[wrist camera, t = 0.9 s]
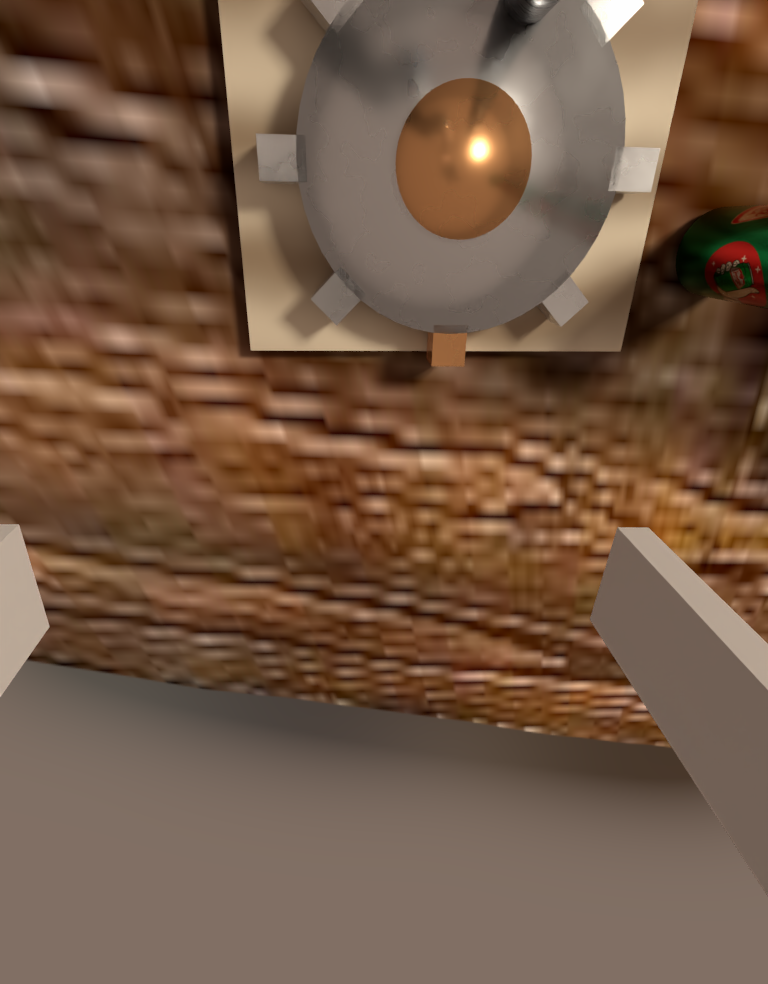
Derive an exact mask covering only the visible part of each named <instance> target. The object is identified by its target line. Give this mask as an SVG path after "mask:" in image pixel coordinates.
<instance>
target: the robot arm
mask: <svg viewBox="0 0 768 984" xmlns="http://www.w3.org/2000/svg"><path fill="white" fill-rule="evenodd" d="M590 621H591V622H592V624H593V625H594V627H595V628H596V630H597V631H598V633H599V635H600V636H601V638H602V639H603V641H604V642H605V644H606V645H607V647H608V649H609V650H610V652H611V653H612V655H613V656H614V658H615V659H616V661H617V663H618V664H619V666H620V667H621V669H622V670H623V672H624V673H625V675H626V677H627V678H628V680H629V681H630V683H631V684H632V686H633V688H634V689H635V691H636V692H637V694H638V695H639V697H640V698H641V700H642V702H643V703H644V705H645V706H646V708H647V709H648V711H649V712H650V714H651V716H652V717H653V719H654V720H655V722H656V723H657V725H658V726H659V728H660V730H661V731H662V733H663V734H664V736H665V737H666V739H667V740H668V742H669V744H670V745H671V747H672V748H673V750H674V751H675V753H676V754H677V756H678V758H679V759H680V761H681V762H682V764H683V765H684V767H685V768H686V770H687V772H688V773H689V775H690V776H691V778H692V779H693V781H694V782H695V784H696V786H697V787H698V789H699V790H700V792H701V793H702V795H703V796H704V798H705V800H706V801H707V802H708V804H709V806H710V807H711V809H712V810H713V812H714V814H715V815H716V817H717V818H718V820H719V821H720V823H721V824H722V826H723V828H724V829H725V830H726V832H727V834H728V835H729V837H730V838H731V840H732V842H733V843H734V845H735V846H736V848H737V849H738V851H739V853H740V854H741V856H742V857H743V859H744V860H745V862H746V863H747V865H748V867H749V868H750V870H751V871H752V873H753V874H754V876H755V877H756V879H757V881H758V882H759V884H760V885H761V887H762V888H763V890H764V891H765V893H766V895H767V896H768V644H767V643H766V642H765V641H764V640H763V639H762V638H761V637H760V636H759V635H758V634H757V633H756V632H755V631H754V630H753V629H752V628H751V627H750V626H749V625H748V624H747V623H746V622H745V621H744V620H743V619H742V618H741V617H740V616H739V615H738V614H736V613H735V612H734V611H733V610H732V609H731V608H730V607H729V606H728V605H727V604H726V603H725V602H724V601H723V600H722V599H721V598H720V597H719V596H718V595H717V594H716V593H715V592H714V591H713V590H712V589H711V588H710V587H709V586H708V585H707V584H706V583H705V582H704V581H703V580H702V579H701V578H700V577H699V576H698V575H696V574H695V573H694V572H693V571H692V570H691V569H690V568H689V567H688V566H687V565H686V564H685V563H684V562H683V561H682V560H681V559H680V558H679V557H678V556H677V555H676V554H675V553H674V552H673V551H672V550H671V549H670V548H669V547H668V546H667V545H666V544H665V543H664V542H663V541H662V540H661V539H660V538H659V537H657V536H656V535H655V534H654V533H653V532H652V531H651V530H650V529H649V528H617V531H616V534H615V538H614V541H613V544H612V548H611V551H610V554H609V558H608V561H607V564H606V568H605V571H604V574H603V578H602V581H601V584H600V588H599V591H598V594H597V598H596V601H595V604H594V608H593V611H592V614H591V618H590ZM48 628H49V623H48V620H47V617H46V613H45V610H44V607H43V603H42V600H41V597H40V593H39V590H38V587H37V583H36V580H35V577H34V573H33V570H32V567H31V563H30V560H29V557H28V553H27V550H26V547H25V543H24V540H23V537H22V533H21V530H20V526H19V524H0V697H1V695H2V694H3V692H4V691H5V690H6V688H7V687H8V685H9V684H10V683H11V681H12V680H13V678H14V677H15V675H16V674H17V673H18V671H19V670H20V668H21V667H22V665H23V664H24V663H25V661H26V660H27V658H28V657H29V655H30V654H31V653H32V651H33V650H34V648H35V647H36V645H37V644H38V643H39V641H40V640H41V638H42V637H43V635H44V634H45V633H46V631H47V630H48Z"/></svg>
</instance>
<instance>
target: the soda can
mask: <svg viewBox="0 0 768 984" xmlns="http://www.w3.org/2000/svg"><path fill="white" fill-rule="evenodd" d="M676 271H677V275H678V279H679V281H680V282H681V284H682V285H683V287H684V288H685V289H687V290H688V291H689V292H691V293H693V294H696V295H700V296H705V297H710V298H715V299H720V300H725V301H730V302H736V303H741V304H746V305H751V306H756V307H761V308H766V309H768V205H753V206H731V207H721V208H717V209H714V210H712V211H709V212H707V213H706V214H704V215H703V216H701V217H700V218H699V219H698V220H696V221H695V222H694V223H693V224H692V225H691V227H690V228H689V229H688V231H687V232H686V233H685V235H684V237H683V239H682V241H681V243H680V245H679V248H678V252H677V257H676Z"/></svg>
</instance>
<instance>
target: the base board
mask: <svg viewBox="0 0 768 984" xmlns="http://www.w3.org/2000/svg"><path fill="white" fill-rule="evenodd" d="M643 2H644V4H643V5H642V7H641V8H640V9H639V10H638V11H637V12H636V13H635V14H634V15H633V16H632V17H631V18H630V19H629V20H628V21H627V22H626V23H625V24H624V25H623V26H622V27H621V29H620V30H619V31H618V32H617V33H616V34H615V35H614V36H613V37H612V38H611V39H610V42H611V46H612V49H613V52H614V55H615V58H616V61H617V64H618V67H619V72H620V77H621V82H622V87H623V93H624V105H625V117H626V122H625V147H643V148H660V153H659V157H658V162H657V167H656V171H655V176H654V180H653V185H652V190H651V192H647V193H637V194H615V196H614V199H613V202H612V204H611V207H610V210H609V213H608V216H607V218H606V220H605V222H604V224H603V226H602V228H601V230H600V232H599V234H598V237H597V238H596V240H595V242H594V243H593V245H592V246H591V248H590V250H589V251H588V253H587V255H586V256H585V258H584V259H583V260H582V262H581V263H580V264H579V265H578V267H577V268H576V269H575V271H574V272H573V273H572V274H571V276H570V277H571V278H572V280H573V281H574V282H575V284H576V285H577V287H578V288H579V289H580V291H581V292H582V294H583V295H584V296H585V298H586V299H587V300H588V303H587V304H586V305H585V306H584V307H583V308H582V309H581V310H579V311H578V312H577V313H576V314H575V315H574V316H573V317H572V318H571V319H569V320H568V321H567V322H566V323H565V324H564V325H563V326H562V327H560V326H558V325H556V324H553V323H551V322H549V321H548V320H547V318H546V317H545V316H544V314H543V313H542V312H541V311H540V309H539V308H538V307H537V306H535V307H534V308H532V309H531V310H529V311H528V312H526V313H525V314H523V315H521V316H519V317H517V318H515V319H513V320H511V321H509V322H507V323H504V324H501V325H498V326H495V327H492V328H489V329H485V330H480V331H475V332H470V333H467V340H466V351H621V347H622V343H623V338H624V334H625V329H626V325H627V320H628V316H629V311H630V307H631V302H632V298H633V293H634V288H635V284H636V279H637V275H638V270H639V266H640V261H641V257H642V252H643V248H644V243H645V239H646V234H647V230H648V225H649V221H650V216H651V212H652V207H653V202H654V198H655V193H656V189H657V184H658V180H659V175H660V171H661V166H662V162H663V157H664V153H665V148H666V144H667V139H668V135H669V130H670V126H671V121H672V116H673V112H674V107H675V103H676V98H677V94H678V89H679V85H680V80H681V76H682V71H683V67H684V62H685V58H686V53H687V49H688V44H689V39H690V35H691V30H692V26H693V21H694V17H695V12H696V8H697V3H698V0H643ZM218 5H219V16H220V27H221V38H222V48H223V59H224V70H225V80H226V91H227V102H228V112H229V123H230V134H231V145H232V155H233V166H234V177H235V187H236V198H237V209H238V219H239V230H240V241H241V252H242V262H243V273H244V284H245V294H246V305H247V316H248V326H249V337H250V348H251V351H427V338H428V332H427V331H422V330H417V329H413V328H410V327H408V326H405V325H402V324H399V323H397V322H394V321H393V320H391V319H389V318H387V317H385V316H383V315H381V314H379V313H378V312H376V311H375V310H373V309H372V308H371V307H369V306H368V305H367V304H365V303H364V302H362V301H361V300H360V302H359V303H358V304H357V305H356V306H355V307H354V308H353V309H352V310H351V311H350V312H349V313H348V314H347V315H346V316H345V317H344V318H343V319H342V320H341V321H340V322H339V324H338V325H337V326H336V325H335V323H334V322H333V321H332V320H331V319H330V318H329V317H328V316H327V315H326V314H325V313H324V312H323V311H322V310H321V309H320V308H319V307H318V306H317V305H316V304H315V303H314V302H313V301H312V300H311V296H312V294H313V293H314V292H315V291H316V290H317V289H318V288H319V287H320V286H321V285H322V284H323V282H324V281H325V280H326V279H327V278H328V277H329V276H330V275H331V274H332V273H333V272H334V271H333V269H332V267H331V266H330V264H329V263H328V261H327V260H326V258H325V256H324V255H323V253H322V252H321V249H320V247H319V245H318V243H317V241H316V239H315V237H314V235H313V233H312V230H311V227H310V224H309V222H308V219H307V216H306V213H305V210H304V206H303V201H302V197H301V192H300V188H299V184H264V183H262V182H261V181H259V169H258V156H257V143H256V133H258V134H285V135H296V131H297V123H298V115H299V107H300V102H301V98H302V94H303V89H304V85H305V81H306V77H307V75H308V72H309V69H310V66H311V64H312V61H313V58H314V56H315V53H316V51H317V49H318V47H319V45H320V43H321V41H322V39H323V37H324V35H325V33H326V32H325V31H324V30H323V29H322V27H321V26H320V25H319V23H318V22H317V21H316V19H315V18H314V17H313V16H312V14H311V13H310V12H309V10H308V9H307V8H306V7H305V5H304V4H303V3H302V1H301V0H218Z"/></svg>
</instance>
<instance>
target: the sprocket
mask: <svg viewBox="0 0 768 984" xmlns="http://www.w3.org/2000/svg"><path fill="white" fill-rule="evenodd" d="M301 1H302V3H303V4H304V5H305V7H306V8H307V9H308V10H309V12H310V13H311V14H312V16H313V17H314V18H315V19H316V21H317V22H318V23H319V25H320V26H321V27H322V29H323V30H324V31H325V32H326V33H325V35H324V37H323V39H322V41H321V43H320V45H319V47H318V49H317V51H316V53H315V56H314V58H313V61H312V64H311V66H310V69H309V72H308V75H307V77H306V81H305V85H304V89H303V94H302V98H301V102H300V107H299V115H298V123H297V131H296V135H285V134H258V133H256V143H257V156H258V169H259V181H261V182H262V183H264V184H299V188H300V192H301V197H302V201H303V206H304V210H305V213H306V216H307V219H308V222H309V224H310V227H311V230H312V233H313V235H314V237H315V239H316V241H317V243H318V245H319V247H320V249H321V252H322V253H323V255H324V256H325V258H326V260H327V261H328V263H329V264H330V266H331V267H332V269H333V271H334V272H333V273H332V274H331V275H330V276H329V277H328V278H327V279H326V280H325V281H324V282H323V284H322V285H321V286H320V287H319V288H318V289H317V290H316V291H315V292H314V293H313V294H312V296H311V300H312V301H313V302H314V303H315V304H316V305H317V306H318V307H319V308H320V309H321V310H322V311H323V312H324V313H325V314H326V315H327V316H328V317H329V318H330V319H331V320H332V321H333V322H334V323H335V325H336V326H337V325H338V324H339V322H340V321H341V320H342V319H343V318H344V317H345V316H346V315H347V314H348V313H349V312H350V311H351V310H352V309H353V308H354V307H355V306H356V305H357V304H358V303H359V302H360V300H361V301H362V302H364V303H365V304H367V305H368V306H369V307H371V308H372V309H373V310H375V311H376V312H378V313H379V314H381V315H383V316H385V317H387V318H389V319H391V320H393V321H394V322H397V323H399V324H402V325H405V326H408V327H410V328H413V329H417V330H422V331H427V332H428V338H427V356H426V359H427V360H428V362H429V363H430V365H431V366H464V362H465V351H466V340H467V333H470V332H475V331H480V330H485V329H489V328H492V327H495V326H498V325H501V324H504V323H507V322H509V321H511V320H513V319H515V318H517V317H519V316H521V315H523V314H525V313H526V312H528V311H529V310H531V309H532V308H534V307H535V306H537V307H538V308H539V309H540V311H541V312H542V313H543V314H544V316H545V317H546V318H547V320H548V321H549V322H551V323H553V324H556V325H558V326H560V327H562V326H563V325H564V324H565V323H566V322H567V321H568V320H569V319H571V318H572V317H573V316H574V315H575V314H576V313H577V312H578V311H579V310H581V309H582V308H583V307H584V306H585V305H586V304H587V303H588V300H587V299H586V298H585V296H584V295H583V294H582V292H581V291H580V289H579V288H578V287H577V285H576V284H575V282H574V281H573V280H572V278H571V277H570V276H571V274H572V273H573V272H574V271H575V269H576V268H577V267H578V265H579V264H580V263H581V262H582V260H583V259H584V258H585V256H586V255H587V253H588V251H589V250H590V248H591V246H592V245H593V243H594V242H595V240H596V238H597V237H598V234H599V232H600V230H601V228H602V226H603V224H604V222H605V220H606V218H607V216H608V213H609V210H610V207H611V204H612V202H613V199H614V196H615V194H637V193H647V192H651V190H652V185H653V180H654V176H655V171H656V167H657V162H658V157H659V153H660V148H643V147H625V122H626V117H625V105H624V93H623V87H622V82H621V77H620V72H619V67H618V64H617V61H616V58H615V55H614V52H613V49H612V46H611V42H610V39H611V38H612V37H613V36H614V35H615V34H616V33H617V32H618V31H619V30H620V29H621V27H622V26H623V25H624V24H625V23H626V22H627V21H628V20H629V19H630V18H631V17H632V16H633V15H634V14H635V13H636V12H637V11H638V10H639V9H640V8H641V7H642V5H643V4H644V2H643V0H301Z"/></svg>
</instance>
